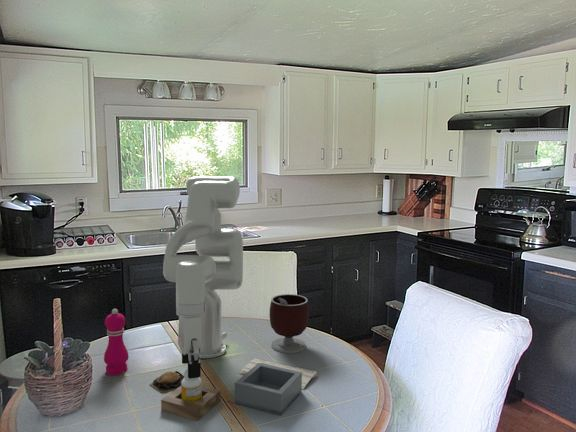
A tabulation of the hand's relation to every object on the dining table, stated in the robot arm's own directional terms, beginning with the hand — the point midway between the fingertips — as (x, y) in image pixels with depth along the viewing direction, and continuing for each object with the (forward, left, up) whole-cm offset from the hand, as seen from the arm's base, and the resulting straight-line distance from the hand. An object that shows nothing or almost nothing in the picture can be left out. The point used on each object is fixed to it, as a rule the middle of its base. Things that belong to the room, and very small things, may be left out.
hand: (190, 370), depth 132 cm
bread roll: (-8, -13, -11) cm, 19 cm away
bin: (-14, +17, -10) cm, 24 cm away
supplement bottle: (-1, 0, -11) cm, 11 cm away
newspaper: (-29, +13, -11) cm, 33 cm away
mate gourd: (-49, +7, -11) cm, 50 cm away
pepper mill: (-8, -33, -11) cm, 36 cm away
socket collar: (-1, 0, -10) cm, 10 cm away
